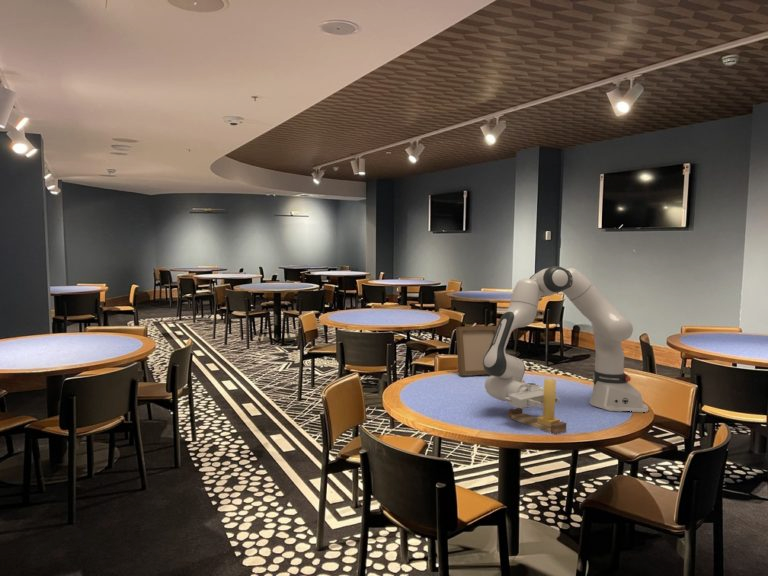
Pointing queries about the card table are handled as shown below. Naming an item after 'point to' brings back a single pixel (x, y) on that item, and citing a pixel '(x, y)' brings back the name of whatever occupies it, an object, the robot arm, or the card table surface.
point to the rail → (535, 421)
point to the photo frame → (473, 348)
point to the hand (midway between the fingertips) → (549, 403)
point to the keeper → (548, 404)
